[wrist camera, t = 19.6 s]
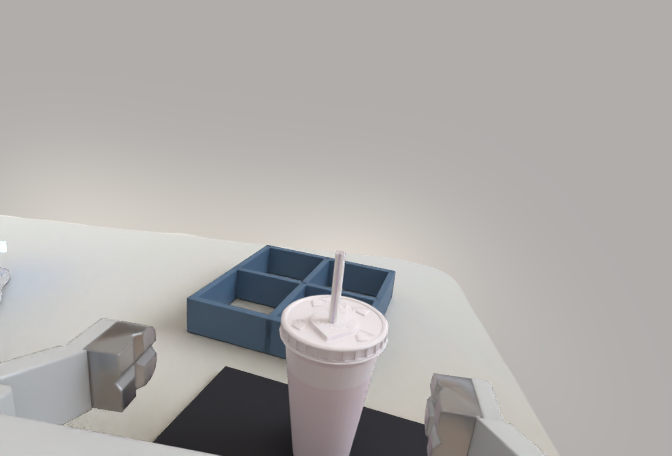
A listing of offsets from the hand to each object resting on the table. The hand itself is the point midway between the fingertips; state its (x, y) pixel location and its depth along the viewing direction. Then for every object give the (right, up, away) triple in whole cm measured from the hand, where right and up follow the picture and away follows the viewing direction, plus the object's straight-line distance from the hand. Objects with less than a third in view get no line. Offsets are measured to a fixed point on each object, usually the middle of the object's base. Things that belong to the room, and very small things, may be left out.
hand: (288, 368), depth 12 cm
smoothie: (0, -11, +16) cm, 19 cm away
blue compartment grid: (-2, -5, +34) cm, 34 cm away
